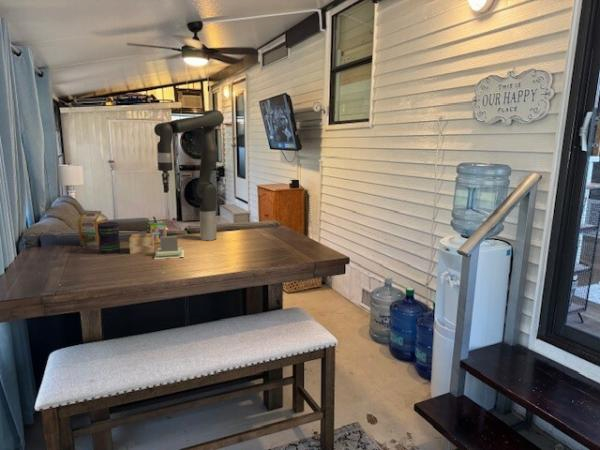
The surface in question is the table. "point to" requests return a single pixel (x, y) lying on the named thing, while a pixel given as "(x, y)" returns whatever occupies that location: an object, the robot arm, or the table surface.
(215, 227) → the robot arm
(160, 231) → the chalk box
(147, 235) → the box
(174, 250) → the lid
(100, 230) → the dark blue cylinder
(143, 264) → the table surface
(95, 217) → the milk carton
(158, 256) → the mat
